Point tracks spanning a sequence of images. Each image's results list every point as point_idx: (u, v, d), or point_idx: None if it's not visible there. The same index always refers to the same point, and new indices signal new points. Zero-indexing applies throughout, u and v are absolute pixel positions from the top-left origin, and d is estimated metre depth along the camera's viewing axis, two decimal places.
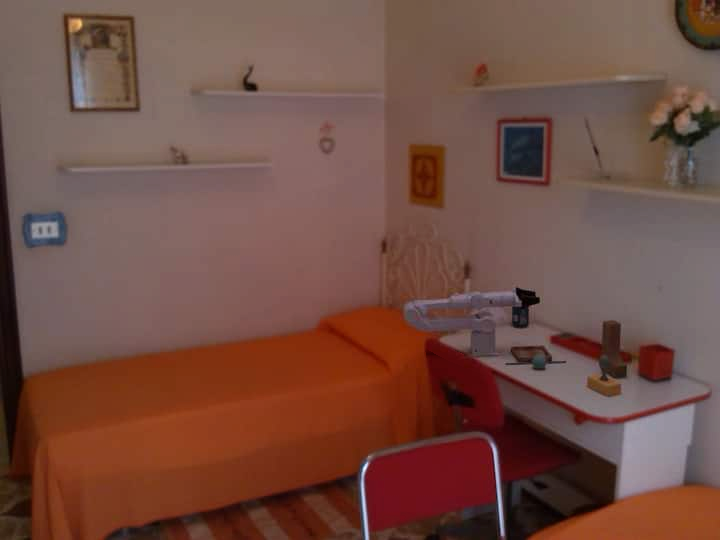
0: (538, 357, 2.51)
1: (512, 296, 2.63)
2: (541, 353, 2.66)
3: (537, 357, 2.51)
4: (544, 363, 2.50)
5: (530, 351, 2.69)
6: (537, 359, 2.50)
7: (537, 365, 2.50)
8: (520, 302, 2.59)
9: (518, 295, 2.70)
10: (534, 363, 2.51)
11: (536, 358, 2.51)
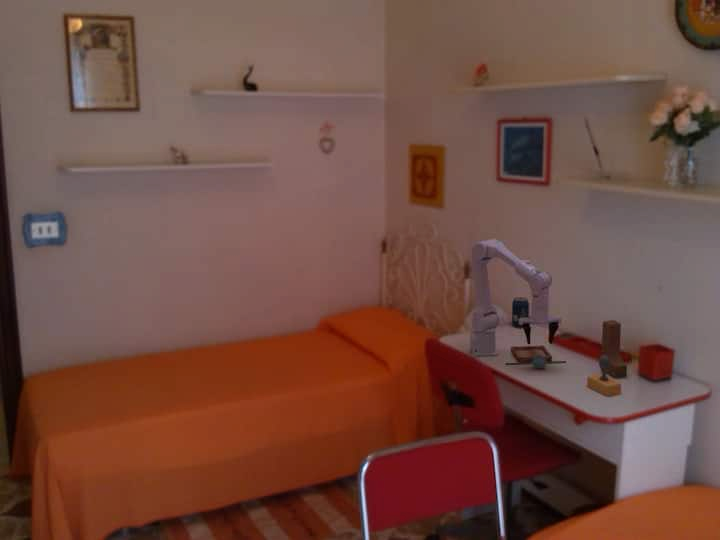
0: (538, 357, 2.51)
1: (534, 318, 2.47)
2: (541, 353, 2.66)
3: (537, 357, 2.51)
4: (544, 363, 2.50)
5: (530, 351, 2.69)
6: (537, 359, 2.50)
7: (537, 365, 2.50)
8: (519, 323, 2.49)
9: (550, 325, 2.49)
10: (534, 363, 2.51)
11: (536, 358, 2.51)
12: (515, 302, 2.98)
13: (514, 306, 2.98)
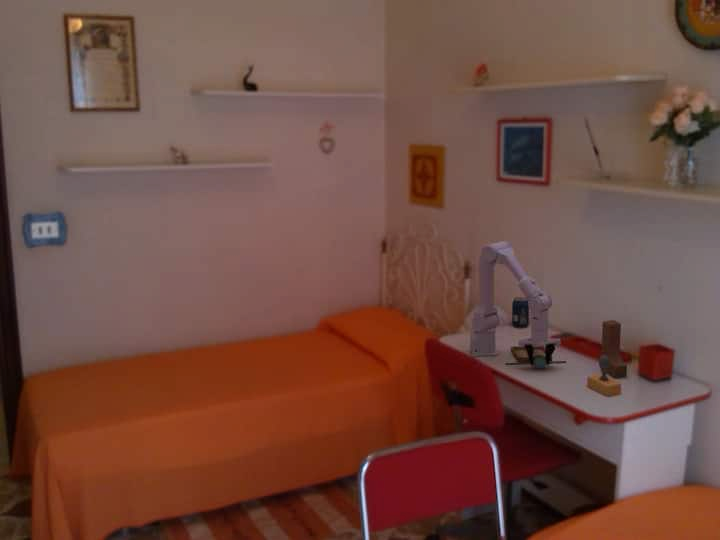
0: (538, 357, 2.51)
1: (533, 340, 2.49)
2: (541, 353, 2.66)
3: (537, 357, 2.51)
4: (544, 363, 2.50)
5: None
6: (537, 359, 2.50)
7: (537, 365, 2.50)
8: (519, 345, 2.50)
9: (546, 347, 2.51)
10: (534, 363, 2.51)
11: (536, 358, 2.51)
12: (515, 302, 2.98)
13: (514, 306, 2.98)
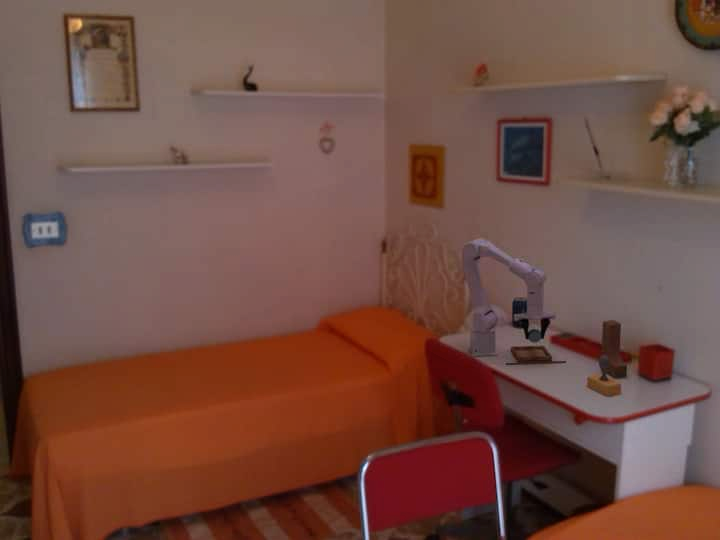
0: (533, 331, 2.56)
1: (529, 314, 2.54)
2: (541, 353, 2.66)
3: (532, 331, 2.56)
4: (539, 337, 2.56)
5: (530, 351, 2.69)
6: (532, 333, 2.56)
7: (532, 339, 2.56)
8: (515, 319, 2.56)
9: (542, 321, 2.57)
10: (529, 337, 2.57)
11: (531, 332, 2.56)
12: (515, 302, 2.98)
13: (514, 306, 2.98)
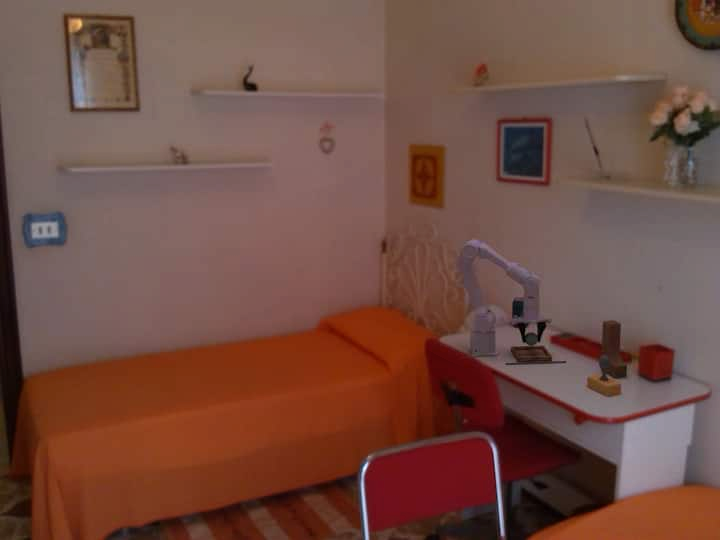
0: (530, 334, 2.62)
1: (526, 318, 2.61)
2: (541, 353, 2.66)
3: (529, 334, 2.63)
4: (536, 340, 2.62)
5: (530, 351, 2.69)
6: (529, 336, 2.62)
7: (529, 342, 2.62)
8: (512, 323, 2.62)
9: (538, 324, 2.63)
10: (526, 340, 2.63)
11: (528, 335, 2.63)
12: (515, 302, 2.98)
13: (514, 306, 2.98)
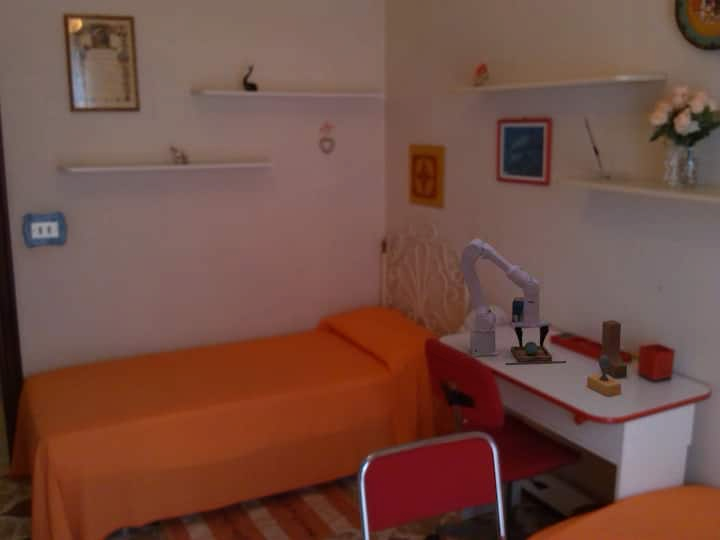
0: (530, 344, 2.63)
1: (525, 322, 2.61)
2: (541, 353, 2.66)
3: (529, 344, 2.63)
4: (536, 350, 2.63)
5: None
6: (529, 345, 2.63)
7: (529, 351, 2.63)
8: (512, 327, 2.63)
9: (541, 329, 2.63)
10: (526, 350, 2.64)
11: (528, 345, 2.63)
12: (515, 302, 2.98)
13: (514, 306, 2.98)
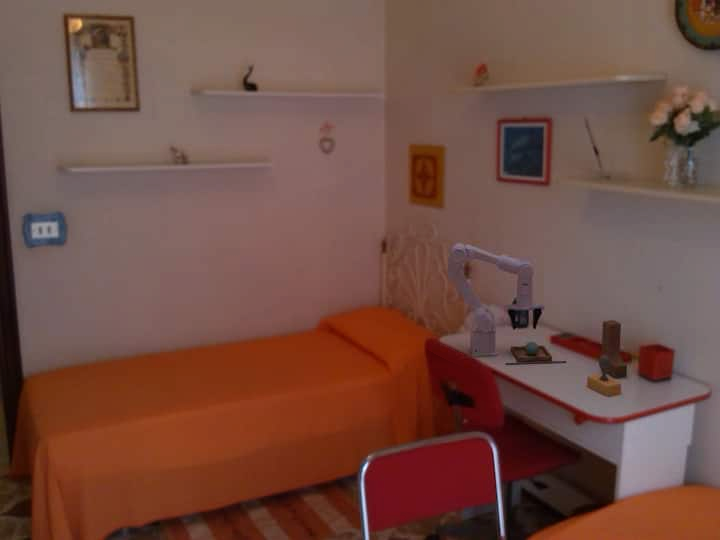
0: (531, 344, 2.63)
1: (519, 305, 2.63)
2: (541, 353, 2.66)
3: (530, 344, 2.63)
4: (536, 350, 2.63)
5: None
6: (530, 345, 2.63)
7: (529, 351, 2.63)
8: (505, 310, 2.65)
9: (534, 311, 2.65)
10: (527, 349, 2.64)
11: (529, 344, 2.63)
12: (515, 302, 2.98)
13: None
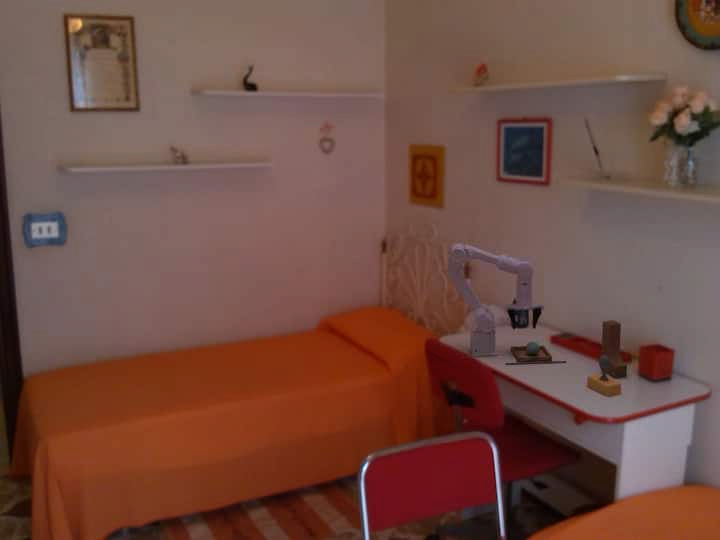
0: (533, 344, 2.63)
1: (518, 304, 2.63)
2: (541, 353, 2.66)
3: (532, 343, 2.63)
4: (537, 350, 2.63)
5: None
6: (531, 345, 2.63)
7: (530, 351, 2.63)
8: (505, 309, 2.65)
9: (533, 311, 2.65)
10: (528, 348, 2.64)
11: (531, 344, 2.63)
12: (515, 302, 2.98)
13: None
